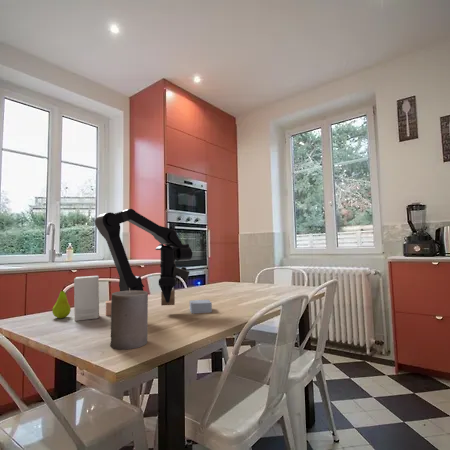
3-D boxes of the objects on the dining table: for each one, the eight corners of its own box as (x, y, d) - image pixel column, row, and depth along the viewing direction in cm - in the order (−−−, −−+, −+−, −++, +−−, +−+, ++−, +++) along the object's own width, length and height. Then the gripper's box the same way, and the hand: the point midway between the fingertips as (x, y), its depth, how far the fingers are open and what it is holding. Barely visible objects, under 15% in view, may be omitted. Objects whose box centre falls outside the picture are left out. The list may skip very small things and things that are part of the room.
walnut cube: (174, 304, 118) (174, 291, 118) (161, 305, 117) (161, 292, 117) (174, 302, 123) (174, 290, 123) (162, 303, 122) (162, 290, 122)
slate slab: (211, 312, 121) (211, 302, 122) (191, 314, 120) (191, 303, 120) (208, 309, 129) (208, 299, 130) (189, 310, 127) (189, 300, 128)
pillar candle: (102, 347, 80) (103, 289, 81) (127, 336, 89) (128, 284, 90) (131, 352, 76) (132, 291, 77) (155, 340, 85) (155, 286, 86)
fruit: (48, 319, 115) (49, 286, 116) (63, 315, 121) (64, 284, 121) (59, 320, 112) (59, 287, 113) (74, 317, 118) (74, 285, 119)
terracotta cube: (119, 314, 121) (119, 301, 121) (105, 316, 119) (106, 302, 119) (118, 312, 125) (118, 299, 126) (105, 313, 123) (105, 301, 124)
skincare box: (99, 315, 119) (99, 275, 121) (98, 319, 113) (98, 276, 114) (75, 317, 117) (76, 276, 118) (73, 321, 110) (73, 277, 112)
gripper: (189, 261, 113) (189, 304, 112) (187, 260, 132) (188, 296, 130) (158, 262, 112) (158, 306, 110) (161, 260, 130) (161, 297, 129)
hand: (168, 301), depth 120 cm, fingers closed on walnut cube, 5 cm apart
